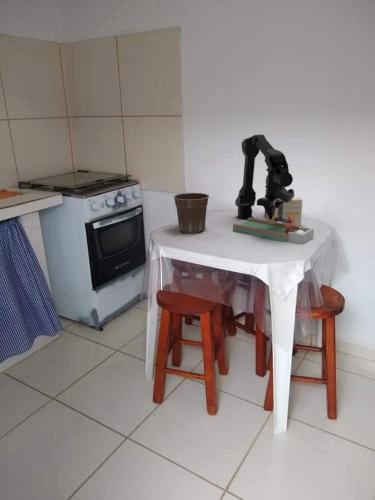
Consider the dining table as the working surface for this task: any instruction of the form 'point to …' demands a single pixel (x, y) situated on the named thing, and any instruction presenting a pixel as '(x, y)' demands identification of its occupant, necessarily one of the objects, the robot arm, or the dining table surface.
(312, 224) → the dining table surface
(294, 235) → the pitch
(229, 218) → the dining table surface
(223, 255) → the dining table surface
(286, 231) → the foosball rod
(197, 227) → the plant pot
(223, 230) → the dining table surface
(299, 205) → the supplement box
